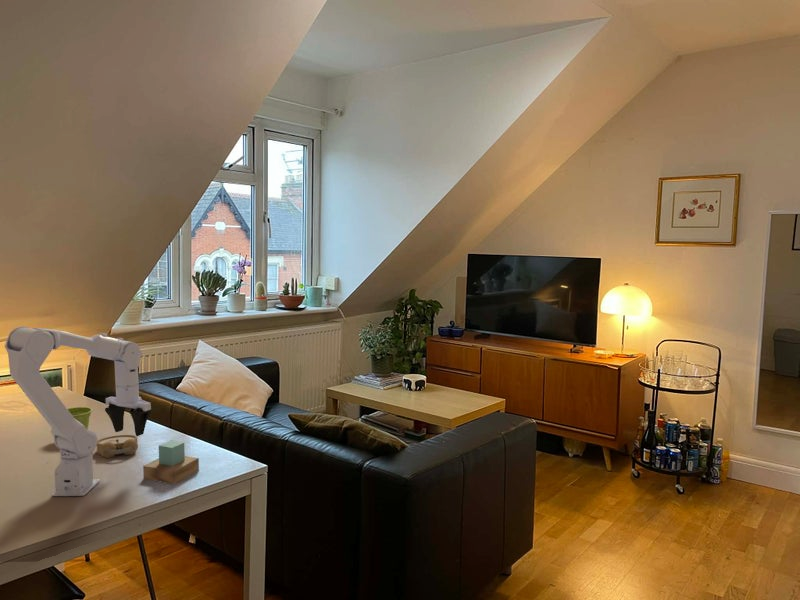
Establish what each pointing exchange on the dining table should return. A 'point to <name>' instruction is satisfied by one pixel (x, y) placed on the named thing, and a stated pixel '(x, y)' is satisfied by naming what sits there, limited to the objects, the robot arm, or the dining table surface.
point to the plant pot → (81, 414)
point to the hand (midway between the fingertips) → (129, 433)
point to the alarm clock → (117, 445)
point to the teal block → (171, 453)
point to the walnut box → (171, 470)
